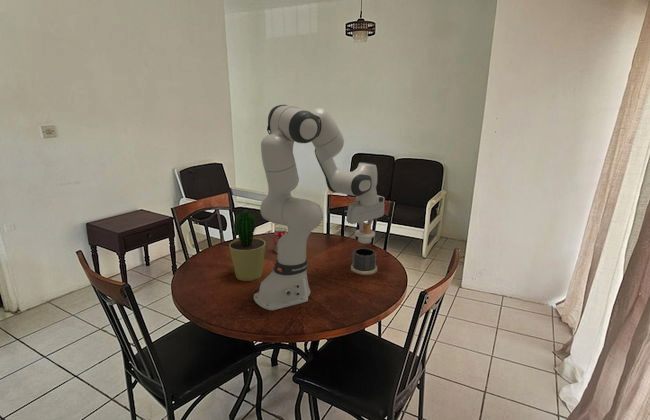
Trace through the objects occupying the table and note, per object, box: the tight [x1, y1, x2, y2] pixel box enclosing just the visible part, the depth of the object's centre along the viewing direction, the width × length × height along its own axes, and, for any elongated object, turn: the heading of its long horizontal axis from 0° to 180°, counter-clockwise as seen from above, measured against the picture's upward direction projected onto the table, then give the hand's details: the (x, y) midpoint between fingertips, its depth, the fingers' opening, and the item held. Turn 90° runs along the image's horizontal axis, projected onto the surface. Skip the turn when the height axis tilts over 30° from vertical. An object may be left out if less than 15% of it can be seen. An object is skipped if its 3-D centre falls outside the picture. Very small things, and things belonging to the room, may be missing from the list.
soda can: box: [273, 227, 288, 253], centre depth 187 cm, size 7×7×12 cm
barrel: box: [350, 247, 378, 276], centre depth 167 cm, size 12×12×8 cm
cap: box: [354, 222, 376, 245], centre depth 163 cm, size 9×9×8 cm
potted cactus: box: [228, 209, 267, 282], centre depth 157 cm, size 15×15×30 cm
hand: (365, 229), depth 163 cm, fingers closed on cap
